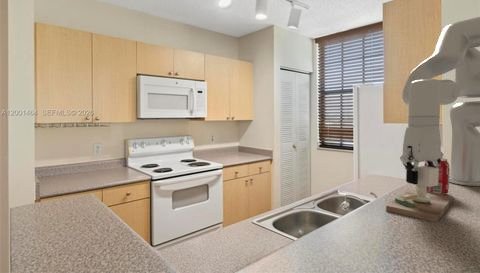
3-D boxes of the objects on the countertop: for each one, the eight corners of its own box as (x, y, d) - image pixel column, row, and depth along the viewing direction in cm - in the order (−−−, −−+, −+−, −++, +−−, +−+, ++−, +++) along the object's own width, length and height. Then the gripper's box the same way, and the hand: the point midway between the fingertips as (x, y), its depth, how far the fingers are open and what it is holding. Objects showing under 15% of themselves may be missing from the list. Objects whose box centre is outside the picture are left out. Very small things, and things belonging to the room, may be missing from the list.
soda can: (439, 190, 95) (441, 157, 94) (453, 196, 88) (455, 160, 87) (419, 190, 96) (420, 157, 95) (431, 196, 89) (432, 160, 88)
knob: (415, 196, 84) (416, 164, 83) (438, 202, 77) (439, 168, 76) (393, 199, 81) (394, 166, 80) (415, 206, 74) (416, 170, 73)
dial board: (408, 194, 92) (408, 186, 92) (452, 201, 83) (453, 193, 83) (386, 210, 77) (386, 202, 77) (436, 222, 68) (437, 212, 68)
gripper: (432, 121, 84) (430, 176, 86) (389, 123, 79) (388, 182, 80) (457, 121, 77) (455, 182, 79) (413, 123, 72) (411, 188, 73)
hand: (421, 181), depth 79 cm, fingers open, 7 cm apart
